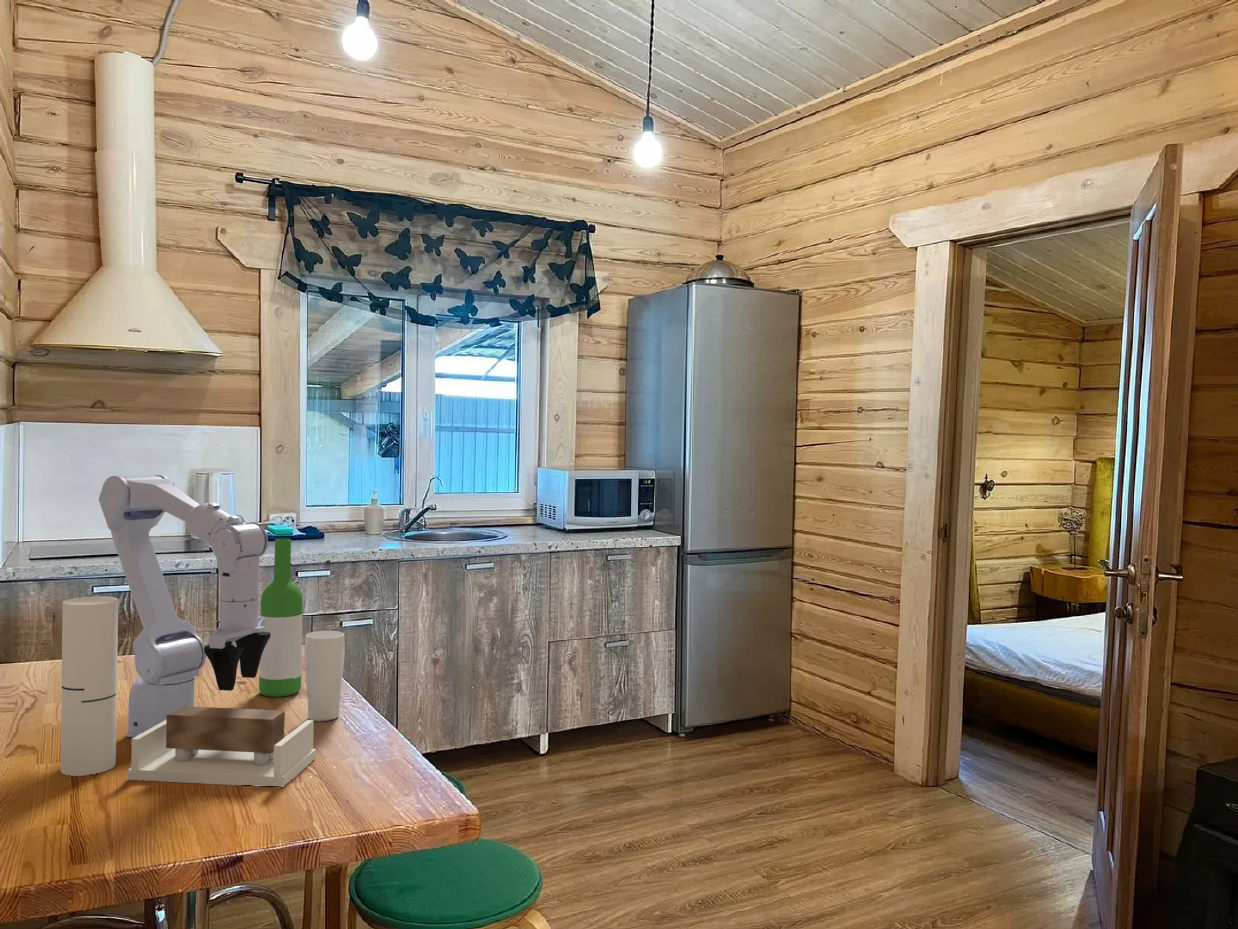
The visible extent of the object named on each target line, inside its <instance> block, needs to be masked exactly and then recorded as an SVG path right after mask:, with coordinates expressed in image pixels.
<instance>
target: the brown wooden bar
mask: <svg viewBox="0 0 1238 929" xmlns="http://www.w3.org/2000/svg"><path fill="white" fill-rule="evenodd" d="M285 712H286V710H278V709H277V710H276V709H273V710H272V709H257V708H255V709H253V708H233V707H231V708H230V707H213V706H211V707H210V706H209V707H208V706H194V707H192V706H182V707H180V708H178V709H176V710H174V711H172V712H171V713H169V714H167V718H166V748H174V749H195V750H215V751H236V752H256V753H272V752H274V745H276V744H277V743H278V742H280V741H281V740H282V739H283V738H285V716H286V715H285V714H286V713H285Z"/></svg>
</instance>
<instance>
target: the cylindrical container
mask: <svg viewBox="0 0 1238 929" xmlns="http://www.w3.org/2000/svg"><path fill="white" fill-rule="evenodd" d="M61 615H62V621H61V622H62V627H61V628H62V629H61V630H62V631H61V634H62V635H61V638H62V639H61V692H60V693H61V695H60V696H61V698H60V699H61V701H60V702H61V704H60V705H61V707H60V708H61V709H60V712H61V713H60V773H61V774H62V773H63V774H62V775H64V774H65V775H66V776H69V775H70V777H71V776H72V777H83V776H84V777H85V776H90V774H92V775H97V774H100V773H103V772H107V771H110V770H111V769H112V768H114V767H115V766H116V764H117V763H116V762H117V760H116V759H117V756H116V755H117V709H118V708H117V707H118V706H117V703H118V702H117V701H118V700H117V699H118V697H117V696H118V646H119V645H118V643H119V642H118V637H119V636H118V634H119V632H118V629H119V599H118V598H117V597H114V596H107V595H106V596H101V595H100V596H98V595H95V596H83V597H82V596H81V597H73V598H69V599H65V600H63V601H62V614H61ZM96 773H97V774H96Z"/></svg>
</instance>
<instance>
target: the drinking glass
mask: <svg viewBox="0 0 1238 929" xmlns="http://www.w3.org/2000/svg"><path fill="white" fill-rule="evenodd" d="M345 638H346V637H345V633H344V632H342V631H339V630H319V631H312V632H308V633H306V634H305V640H304V668H305V681H306V695H307V697H306V698H307V717H308V720H314V722H328V721H333V720H335V719H337V718H338V717H339V715H340V702H341V694H342V693H341V691H342V690H341V689H342V681H343V673H344V665H345V650H346V646H345V645H346V642H345V641H346V640H345Z"/></svg>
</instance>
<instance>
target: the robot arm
mask: <svg viewBox="0 0 1238 929" xmlns="http://www.w3.org/2000/svg"><path fill="white" fill-rule="evenodd" d="M175 485H176V484H175V481H174V480H173V479H171V478H169V477H167V476H166V475H164V474H154V475H135V476H133V475H130V476H129V475H127V476H120V475H111V476H109V477H108V478H107V479H105V481H104V483H103V485H102V486H101V490H100V494H99V497H98V502H99V504H100V507H101V511H102V513H103V516H104V519H105V523H106V525H107V528H108V530H110V533H111V537H112V541H113V543H114V546H115V549H116V552H117V556H118V558H119V561H120V564H121V568H122V569H123V572H124V576H125V579H126V581H127V584H128V586H129V587H128V588H129V590H130V593H131V596H132V599H133V602H134V605H135V608H136V610H137V614H138V616H139V620H140V622H141V625H142V628H143V629H142V630H141V631H140V632H139V634H138V635H137V636H136V638H135V639H134V640H133V642H132V644H131V645H132V648H133V652H134V666H135V671H136V673H137V675H138V676H139V677H140V678H138V679H137V680H136V681H134V683H133V684H132V686H131V688H130V691H129V695H128V721H127V722H128V725H127V726H128V728H127V730H128V731H127V732H126V733H125V737H127V738H134V737H136V736H138V735H140V734H141V733H143V732H145V731H147V730H149V729H150V728H152V727H154V726H156V725H158V724H159V723H161V722H163V721H165V720H166V718H167V714H169V713H171V712H172V711H174V710H176V709H178V708H180V707H182V706H192V707H195V678H196V677H198V676H199V673H200V671H199V670H201V669H202V668H203V667H204V666H205V664H206V660H207V659H208V660H209V662H210V664H211V666H212V669H213V672H214V673H213V674H214V677H215V680H216V685H217V689H218V690H219V691H224V692H225V691H227V692H228V691H229V692H230V691H233V690H234V688H235V685H236V679H237V671H238V670H237V669H238V665H239V668H240V669H239V670H240V674H241V678H243V679H244V678H248V679H249V678H250V679H255V678H256V677H257V674H258V672H259V663H260V660H261V656H262V653H263V650H264V648H265V646H266V644H267V642H268V640H269V639H270V632H263V631H265V618H260V617H259V599H260V598H259V594H260V593H259V588H260V584H259V582H260V557H262V556H264V554H265V553H266V551H267V548H268V544H269V540H268V534H267V532H266V530H265V528H264V527H263V526H262V525H261V524H259V522H257V521H249V522H247V523H246V522H243V521H241V520H240V517H239V516H237V515H232V514H230V513H228V512H226V511H224V510H223V509H221V505H220V504H219V503H218V502H206V503H205V502H204V503H201V504H200V503H198V502H197V501H195V499H193V498H192V497H190V496H188V495H187V494H186V493H184V492H183V491H182V490H181V489H179V488H177V486H175ZM165 513H168V514H169V515H171V516H173V517H175V518H177V519H178V520H180V521H183V522H185V524H186V529H187V531H188V532H189V534H191V535H193V536H194V537H196V538H198V539H199V540H201V541H202V542H204V543H205V544H207V545H208V546H210V547H211V549H212V552H213V555H214V556H215V559H216V568H217V570H218V572H219V626H218V627H217V629H216V630H215V631H214V632H213V634H211V635H209V644H205V642H204V641H203V640H202V638H201V637H200V636H199V634H197V632H196V629H195V626H194V625H193V624H191V623H189V622H188V621H186V620H184V619H182V618H180V617H179V616H178V614H177V611H176V608H175V606H174V602H173V600H172V598H171V594H170V592H169V589H168V586H167V585H168V584H167V583H166V580H165V578H164V573H163V571H162V569H161V565H160V563H159V560H158V557H157V554H156V552H155V548H154V545H153V543H152V540H151V537H150V531H151V530H152V529H153V528H155V527H156V526H158V524H159V522H160V521H161V519H162V518H163V516H164V514H165ZM233 642H235V645H236V646H235V645H234V644H233Z"/></svg>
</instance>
